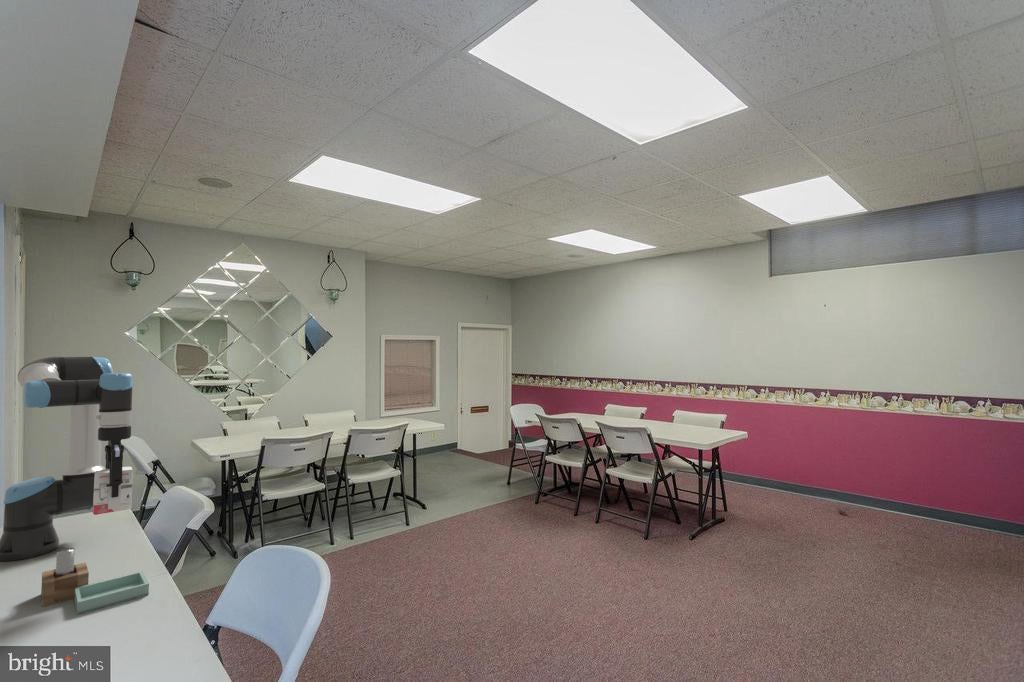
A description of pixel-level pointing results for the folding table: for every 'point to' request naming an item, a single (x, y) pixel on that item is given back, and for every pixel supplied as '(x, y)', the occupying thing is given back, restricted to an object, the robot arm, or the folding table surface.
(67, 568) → the cylinder
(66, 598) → the wooden square holder
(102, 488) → the ink box
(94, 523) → the folding table surface
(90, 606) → the tray
